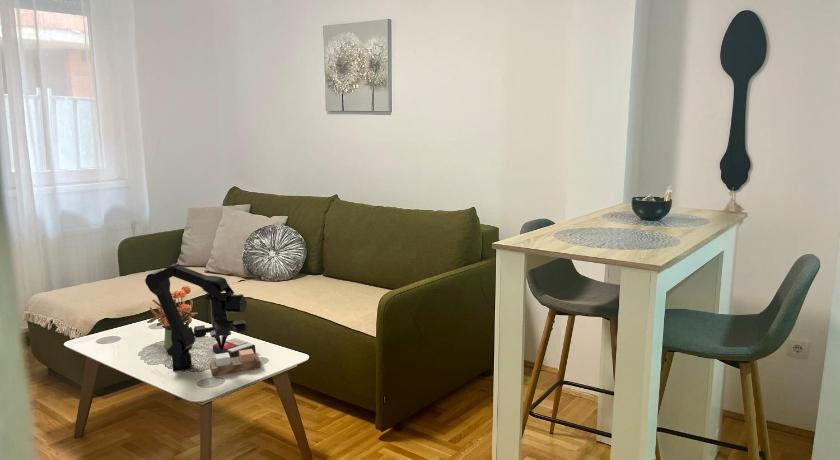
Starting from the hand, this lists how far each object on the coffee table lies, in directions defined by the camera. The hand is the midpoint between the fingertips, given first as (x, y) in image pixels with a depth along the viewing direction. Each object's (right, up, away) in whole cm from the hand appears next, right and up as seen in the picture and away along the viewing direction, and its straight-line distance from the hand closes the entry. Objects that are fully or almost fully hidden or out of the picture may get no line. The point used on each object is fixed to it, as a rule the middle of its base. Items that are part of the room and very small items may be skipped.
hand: (221, 349), depth 238 cm
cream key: (0, -6, +1) cm, 6 cm away
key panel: (+4, -8, +3) cm, 10 cm away
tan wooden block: (+8, -5, +5) cm, 11 cm away
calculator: (-1, -5, +20) cm, 21 cm away
